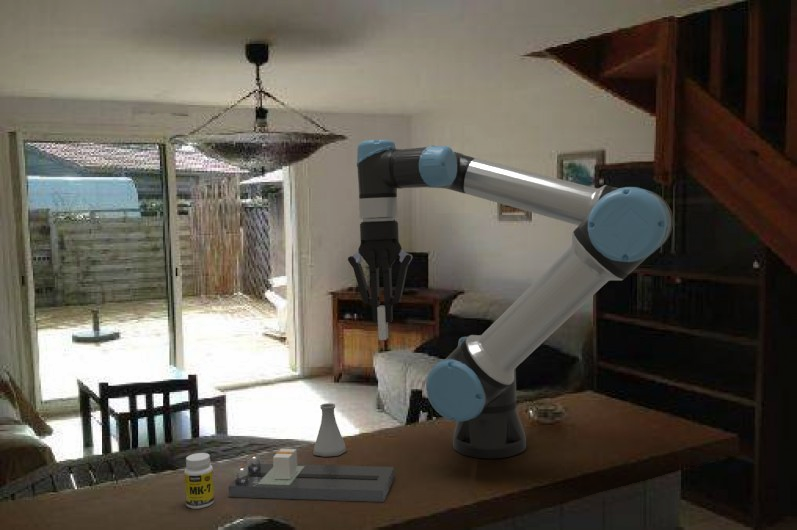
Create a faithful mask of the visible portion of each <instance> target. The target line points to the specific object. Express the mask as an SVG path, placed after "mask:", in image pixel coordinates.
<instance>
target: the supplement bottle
mask: <svg viewBox="0 0 797 530" xmlns="http://www.w3.org/2000/svg"><path fill="white" fill-rule="evenodd" d="M185 463H186V468H185V469H184V488H185V489H184V490H185V492H184V493H185V505H186V506H187V507H188V508H189V509H190V508H191V509H194V510H195V509H197V510H198V509H203V508H207V507H209V506H211V505H213V503H214V502H215V488H214V486H215V485H214V469H213V466H212V464H211V456H210V454H209V453H206V452H198V453H197V452H196V453H192V454H189V455H188V456H186V458H185Z"/></svg>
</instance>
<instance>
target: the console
mask: <svg viewBox="0 0 797 530" xmlns="http://www.w3.org/2000/svg"><path fill="white" fill-rule="evenodd" d="M246 457H247V458H246V461H247V465H245V464H242V465H238V466H236V467H234V469H233V470H234V480H233V481H232V482H231V483H229V485H228V497H229V498H246V499H247V498H249V499H252V498H253V499H275V500H276V499H279V500H280V499H282V500H284V499H285V500H307V501H308V500H309V501H335V502H336V501H342V502H344V501H345V502H367V503H368V502H370V503H371V502H373V503H384V502H385V500H386V498H387V495H388V493H389V491H390V488H391V487H392V484H393V481H394V479H395V478H394V477H395V467H394V466H373V465H372V466H370V465H369V466H367V465H365V466H363V465H331V464H330V465H327V464H323V465H321V464H297V469H298V470H297V471H296V473H295V474H294V475H293V476H292V478H291V479H274V468H273V463H261V455H260V454H259V453H252V454H248V455H247V456H246Z"/></svg>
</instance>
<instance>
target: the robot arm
mask: <svg viewBox="0 0 797 530" xmlns="http://www.w3.org/2000/svg"><path fill="white" fill-rule="evenodd" d="M356 161H357V162H356V167H357V180H358V197H359V198H358V210H359V216H358V217H359V219H361V220H362V222H360V223H359V232H360V235H359V236H360V238H359V239H360V244H359V247H358V251H357V252H356V253H354V254H353V255H350V256H348V258H347V261H348V263H349V264H350V266H351V267H352V268H353V269H352V270H353V272H354V276H355V278H356V279H355V280H356V283H357V286H358V290H359V293H360V296H361V301H362V303H363V304H364V305H365V304H366V305H369V306H371V308H372V313H371V314H372V322H373V323H377V331H378V332H377V333H378V335H377V336H378V341H387V339H389V323H391V322H392V321H393V320H394V317H393V315H394V314H393V306H394V305H395V304H399V302H401V301H402V298H403V293H404V288H405V282H406V278H407V272H408V268H409V265H410V263H411V261H413V258H414V256H413V254H411V253H408V252H406V251H405V250H403V249H402V246H401V244H400V242H399V241H400V240H399V222H398V220H396V218H398V217H399V216H398V215H399V214H398V213H399V212H398V190H400V189H417V188H427V189H428V188H429V189H430V188H432V189H436V188H437V189H447V190H450V191H454V192H456V193H457V192H458V193H461V194H466V195H470V196H473V197H477V198H480V199H483V200H487V201H491V202H493V203H497V204H501V205H505V206H508V207H512V208H514V209H515V208H516V209H519V210H522V211H526V212H530V213H531V214H532V213H533V214H537V215H540V216H544V217H547V218H550V219H554V220H557V221H561V222H565V223H568V224H570V225H571V224H572V225H575V226H577V227H575V229H574V230H573V231H572V233H571V235H572V236H571V237H572V238H571V239H572V240H571V246H570V247H569V248H568V249H566V250H565V251H564V253H563V254H561V256H559V258H557V259H556V260H555V262H554V263H552V264H551V266H549V268H547V269H546V270H545V271H544V273H542V274H541V275H540V277H538V278H537V279H536V280H535V281H534V282H533V283H532V284H531V285H530V286H529V287H528V288H527V289H526V290H525V291H524V292H523V293H522V294H521V295H520V296H519V297H518V298H517V299H516V300H515V301H514V302H513V303H512V304H511V305H510V306H509V307H508V308H507V309H506V310H505V311H504V312H503V313H502V314H501V315H500V316H499V317H498V318H497V319H496V320H495V321H494V322H493V323H492V324H491V325H490V326H489V327H488V328H487V329H486V330H485V331H484V332H483V333H482V334H479V335H477V334H470V335H468V336H462V337H460V338H459V339H458V343H457V347H456V348H455V349H454V350H453V351H452V352H451V353H450V354H449V355H448V356H447V357H446V358H445V359H442V360H440V361H438V362H436V363H435V364H434V365H433V367H432V368H431V369H430V371H429V372H428V374H427V378H426V381H425V390H426V396H427V399H428V401H429V403H430V405H431V406H432V408H433V409H434V410H435V412H437V414H439V416H441V417H442V418H444V419H446V420H449V421H453V422H456V424H455V426H454V431H453V434H452V446H453V447H452V448H453V449H454V450H455V451H456V452H457V453H458V454H462V455H463V456H467V457H470V458H479V459H503V458H509V457H510V458H511V457H513V456H517V455H519V454H521V453H522V452H524V451H525V450H526V449H527V436H526V433H525V430H524V426H523V424H522V421H521V417H520V416H519V413H518V409H517V372H516V371H517V370H516V369H517V367H519V365H520V364H521V363H523V362H524V361H525V360H526V359H527V358H528V357H530V355H531V354H532V353H533V352H534V351H535V350H536V349H538V348H539V347H540V346H541V345H542V344H543V343H544V342H545V341H546V340H547V339H548V338H549V337H550V336H551V335H552V334H554V333H555V332H556V331H557V330H558V329H559V328H560V327H561V326H562V325H563V324H564V323H565V322H566V321H568V320H569V319H570V318H571V317H572V316H573V314H575V313H576V312H577V311H578V310H579V309H580V308H581V307H582V306H583V305H584V304H586V303H587V301H589V300H590V299H591V298H592V297H593V296H594V295H595V294H596V293H597V292H598V291H599V290H600V289H601V288H602V287H604V285H606V284H607V283H608V282H609V281H623V280H624V279H626V278H627V277H628V276H629V275H630V274H631V273H632V272H633V271H634V270H635V269H637V267H639V265H641V264H642V263H643V262H644V261H645V260H646V259H647V258H648V257H650V256H651V255H652V254H654V253H655V252H656V251H657V250H658V249H659V248H660V247H662V246H663V245H664V244H665V243H666V242H667V240H668V239H669V237H670V236H671V233H672V230H673V225H674V219H673V212H672V209H671V208H670V205H669V204H668V203H667V201H666V200H665V199H664V198H663V197H662V196H661V195H659V194H658V193H656V192H654V191H652V190H648V189H645V188H640V187H637V186H625V187H619V188H618V187H615V186H610V185H607V184H604V185H602V186H601V187H599V188H597V187H593V186H588V185H584V184H579V183H576V182H573V181H569V180H565V179H560V178H556V177H552V176H548V175H545V174H540V173H537V172H533V171H529V170H524V169H520V168H516V167H514V166H509V165H506V164H505V165H504V164H501V163H497V162H493V161H489V160H486V159H481V158H478V157H477V158H476V157H473V156H470V155H465V154H464V153H460V152H458V151H453V149H452V147H450V146H448V145H429V146H424V147H414V148H405V149H400V148H398V149H397V148H396V143H395V142H394V141H393V140H391V139H369V140H364V141H361V142H360V143H358V145H357V157H356ZM398 257H399V260H398V261H399V262H400V266H399V269H398V275H397V280H396V284H395V290H394V294H393V284H392V283H393V281H392V280H393V279H392V278H393V277H392V269H393V268H392V265H393V264H394V263H395V262H396V260H397V258H398ZM362 259H363V260H364V261H365V263H366V264H367V265H368V267H369V273H370V274H369V275H370V277H369V278H370V290H369V288H368V284H367V281H366V277H365V273H364V270H363V266H362V262H363V260H362ZM380 268H382V279H383V300H384V301H383V302H384V304H383V305H380V304H381V297H380V296H381V295H380Z"/></svg>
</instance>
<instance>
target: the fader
mask: <svg viewBox="0 0 797 530" xmlns="http://www.w3.org/2000/svg"><path fill="white" fill-rule="evenodd" d="M272 464H273V468H274V479H291V478H292V476H293V475H294V474H295V473H296V471H297V470H298V469H297V465H298V453H297V449H296V448H280V450H277V451H276V453H275V454H274V456H272Z"/></svg>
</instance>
